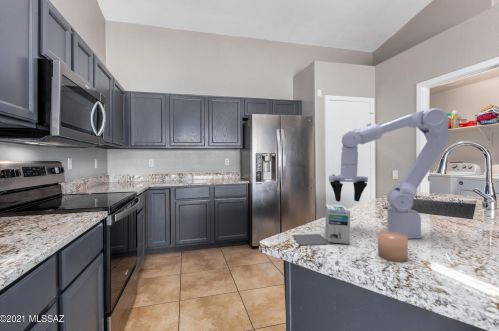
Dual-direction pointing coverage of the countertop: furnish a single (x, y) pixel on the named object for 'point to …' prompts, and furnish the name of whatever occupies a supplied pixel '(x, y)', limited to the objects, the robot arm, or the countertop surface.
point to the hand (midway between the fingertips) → (347, 201)
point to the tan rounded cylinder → (393, 246)
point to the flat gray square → (310, 239)
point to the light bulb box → (337, 224)
